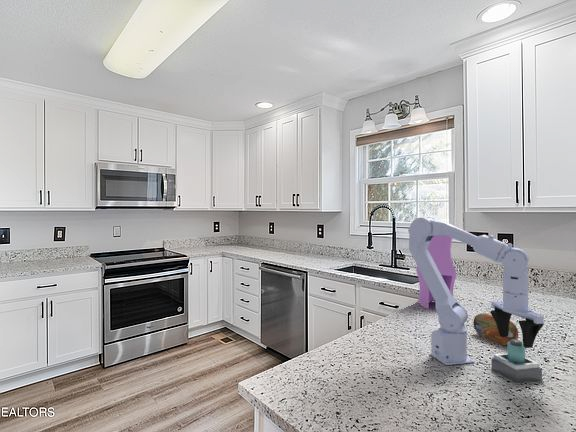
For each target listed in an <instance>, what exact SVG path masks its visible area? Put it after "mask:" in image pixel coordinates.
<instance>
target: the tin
mask: <svg viewBox="0 0 576 432" xmlns="http://www.w3.org/2000/svg"><path fill="white" fill-rule="evenodd" d="M472 323H473V324H472V325H473V328H474V330H475V332H476V334H477V335H478V336H480V337H481V338H484V339H486V340H489V341H492V342H494V343H497V344H500V345H504V346H507V342H509V341H510V340H511V339H515V340H519V330H518V327H517V326H516V325H515V323H514V322H513V321H511V320H510V322H509V333H508V337H500V335H499V331H498V328H497V325H496V322H495V320H494V318H493V316H492V315H491V313H490V314H489V313H478V314H476V315H475V316H474V318H473V322H472Z"/></svg>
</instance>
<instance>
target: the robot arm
mask: <svg viewBox="0 0 576 432" xmlns="http://www.w3.org/2000/svg"><path fill="white" fill-rule="evenodd" d="M408 227H409V228H408V229H407V231H408V234H409V235H408V236H409V237H408V239H409V240H408V250H409V252H410V255H411V256H412V258H413V260H414V262H415V264H416V267H417V266H418V268H419V270H420V272H421V274H422V276H423V278H424V280H425V282H426V284H427V286H428V288H429V290H430V292H431V294H432V296H433V298H434V300H435V302H434V303H435V310H436V313H437V317H438V319H437V321H438V323H439V326H440V327H439V328H438V329H436V330H433V331H432V332H431V337H430V339H431V341H430V342H431V343H430V345H431V346H430V352H429V355H431V356H432V358H435V359H436V360H437V361H439V362H441V364H444V366H452V365H454V366H455V365H461V364H463V365H464V364H471V363H475V360H473V359H472V358H470V357H469V356H468V343H467V342H468V341H467V340H468V338H467V337H468V335H467V334H468V333H467V331H468V330H467V327H466V325H465V323H466V322H467V321H468V318H469V317H468V316H469V314H468V311H467V309H466V308H465V307H464V306H462V305H461V304H460V302H459V301H458V299H457V297H455V296H454V295H453V296H452V295H451V293H450V291H449V289H448V287H447V285H446V283H445V281H444V279H443V278H442V276H441V274H440V272H439V270H438V268H437V266H436V264H435V262H434V261H433V259H432V257H431V255H430V253H429V251H428V249H427V248H428V246H429V243H430V241H431V239H432V238H433V237H434V236H435V235H446V236H448V237H451V238H453V239H455V240H456V241H459V242H461V243H464V244H466V245H468V246H470V247H472V248H473V251H474V253H476V254H477V255H480V256H482V257H485V258H487V259H489V260H492V261H493V262H496V263H501V264H502V266H503V275H502V301H498V300H493V301H491V303H490V304H491V306H490V307H491V309H493V310H490V315H492V316H493V318H494V320H495V322H496V325H497V328H498V331H499V335H500V337H508V333H509V322H510V321H511V318H512V315H513V316H516V317H518V318H522V320H518V324H519V326H520V330H521V333H522V334H521V335H522V336H521V337H522V344H523V346H524V347H525V349H531V348H533V346H534V343H535V340H536V338H537V335H538V334H539V332H540V330H541V329H542V328H543V327H544V315H542V314H539V313H537V312H536V311H533V310H531V307H529V276H528V274H529V270H528V265H529V261H530V256H529V254H528V253H527V252H526V251H525V250H524V249H522V248H521V247H520V246H519V247H518V246H513V244H512V243H509V242H508V243H505V242H503V241H501V240H498V239H496V238H495V236H494V235H493V234H488V235H487V234H482V235H478V236H477V235H475V234H473V233H470V232H468V231H466V230H464V229H463V228H462V229H461V228H460V227H457V226H456V225H453V224H451V223H448V222H446V221H443V220H439V219H435V218H434V217H429V216H428V217H416V218H414V220H412V222H411V223H410V225H409V226H408ZM453 239H452V240H453ZM524 319H525V320H524Z"/></svg>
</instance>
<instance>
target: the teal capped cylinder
mask: <svg viewBox="0 0 576 432" xmlns="http://www.w3.org/2000/svg"><path fill="white" fill-rule="evenodd" d="M506 346H507V348H506V349H507V350H506V353H507V360H509V361H510V362H512V363H514V364H524V363H525V357H526V348H525V347H524V346H523V340H522V341H521V340H519V339H518V340H515V339H511V340H510V341H509V342H507V345H506Z"/></svg>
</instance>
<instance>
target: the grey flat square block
mask: <svg viewBox="0 0 576 432" xmlns="http://www.w3.org/2000/svg"><path fill="white" fill-rule="evenodd" d="M491 370H493V371H495V372H496V373H498V374H500V375H501V376H503V377H505V378H507V379H509V380H510V381H512V382H514V383H515V384H519V383H528V382H536V381H543V368H542V367H540V363H538V362H537V361H535V360H533V359H532V358H531V359H530V358H528V357H526V356H525V363H524V364H514V363H512V362H510V361H509V360H507V352H506V353H505V352H504V353H496V354H495V353H494V354H493V357H491Z"/></svg>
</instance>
